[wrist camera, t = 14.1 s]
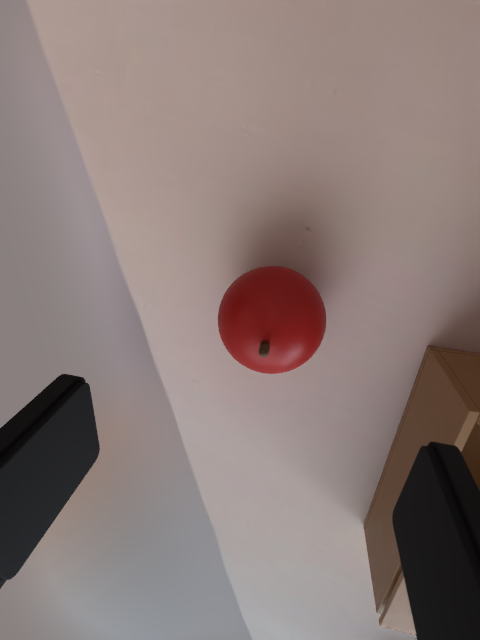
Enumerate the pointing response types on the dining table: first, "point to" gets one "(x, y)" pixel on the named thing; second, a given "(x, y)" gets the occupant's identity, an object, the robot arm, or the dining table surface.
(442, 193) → the dining table surface
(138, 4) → the dining table surface
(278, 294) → the apple
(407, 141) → the dining table surface
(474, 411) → the cardboard box
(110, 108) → the dining table surface
